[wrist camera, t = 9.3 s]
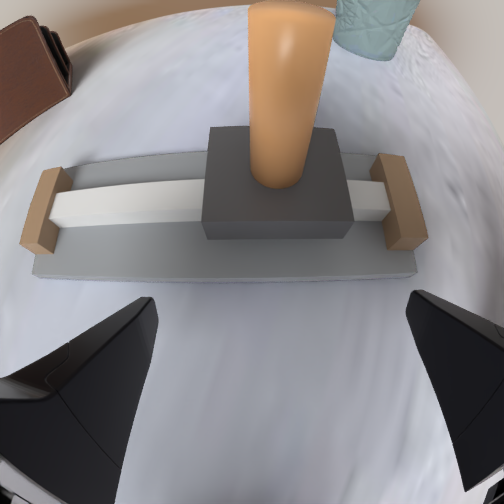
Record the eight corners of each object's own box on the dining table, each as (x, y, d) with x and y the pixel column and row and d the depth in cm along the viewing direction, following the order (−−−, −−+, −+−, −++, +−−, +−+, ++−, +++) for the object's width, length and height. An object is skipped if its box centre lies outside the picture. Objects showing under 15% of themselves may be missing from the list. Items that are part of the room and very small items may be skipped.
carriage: (207, 239, 14) (148, 60, 5) (214, 150, 17) (190, -8, 7) (342, 238, 14) (439, 79, 5) (327, 150, 17) (368, 2, 7)
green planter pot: (312, 36, 28) (322, -41, 16) (352, 26, 30) (365, -37, 19) (379, 71, 25) (406, -13, 14) (410, 57, 27) (434, -8, 16)
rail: (39, 277, 16) (14, 265, 14) (66, 175, 20) (49, 155, 17) (409, 277, 16) (433, 262, 14) (383, 164, 20) (397, 140, 17)
